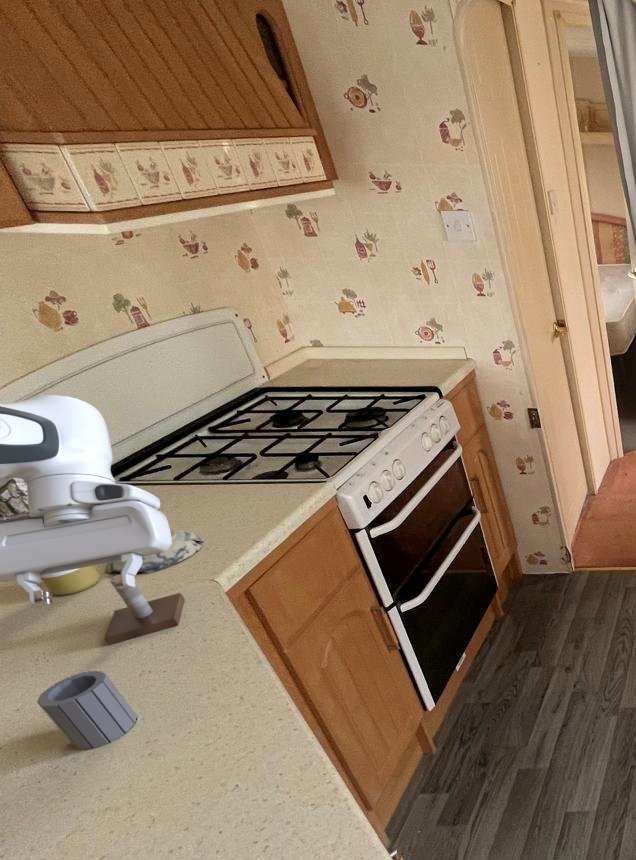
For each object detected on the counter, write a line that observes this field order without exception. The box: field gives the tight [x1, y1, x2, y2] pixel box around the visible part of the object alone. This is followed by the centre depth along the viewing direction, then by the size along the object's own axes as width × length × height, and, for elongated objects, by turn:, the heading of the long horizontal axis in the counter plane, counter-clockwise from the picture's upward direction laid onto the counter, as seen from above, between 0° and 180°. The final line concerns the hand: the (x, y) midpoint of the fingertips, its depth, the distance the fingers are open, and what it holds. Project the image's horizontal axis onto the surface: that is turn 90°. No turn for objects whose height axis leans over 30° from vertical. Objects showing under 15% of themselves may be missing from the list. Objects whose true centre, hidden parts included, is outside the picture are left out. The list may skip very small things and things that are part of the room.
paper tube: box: [0, 478, 101, 596], centre depth 118 cm, size 7×7×25 cm
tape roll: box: [36, 670, 138, 750], centre depth 91 cm, size 7×7×8 cm
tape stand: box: [103, 576, 186, 646], centre depth 112 cm, size 9×9×9 cm
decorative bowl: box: [105, 529, 204, 574], centre depth 132 cm, size 15×4×15 cm
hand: (84, 595), depth 95 cm, fingers open, 8 cm apart
